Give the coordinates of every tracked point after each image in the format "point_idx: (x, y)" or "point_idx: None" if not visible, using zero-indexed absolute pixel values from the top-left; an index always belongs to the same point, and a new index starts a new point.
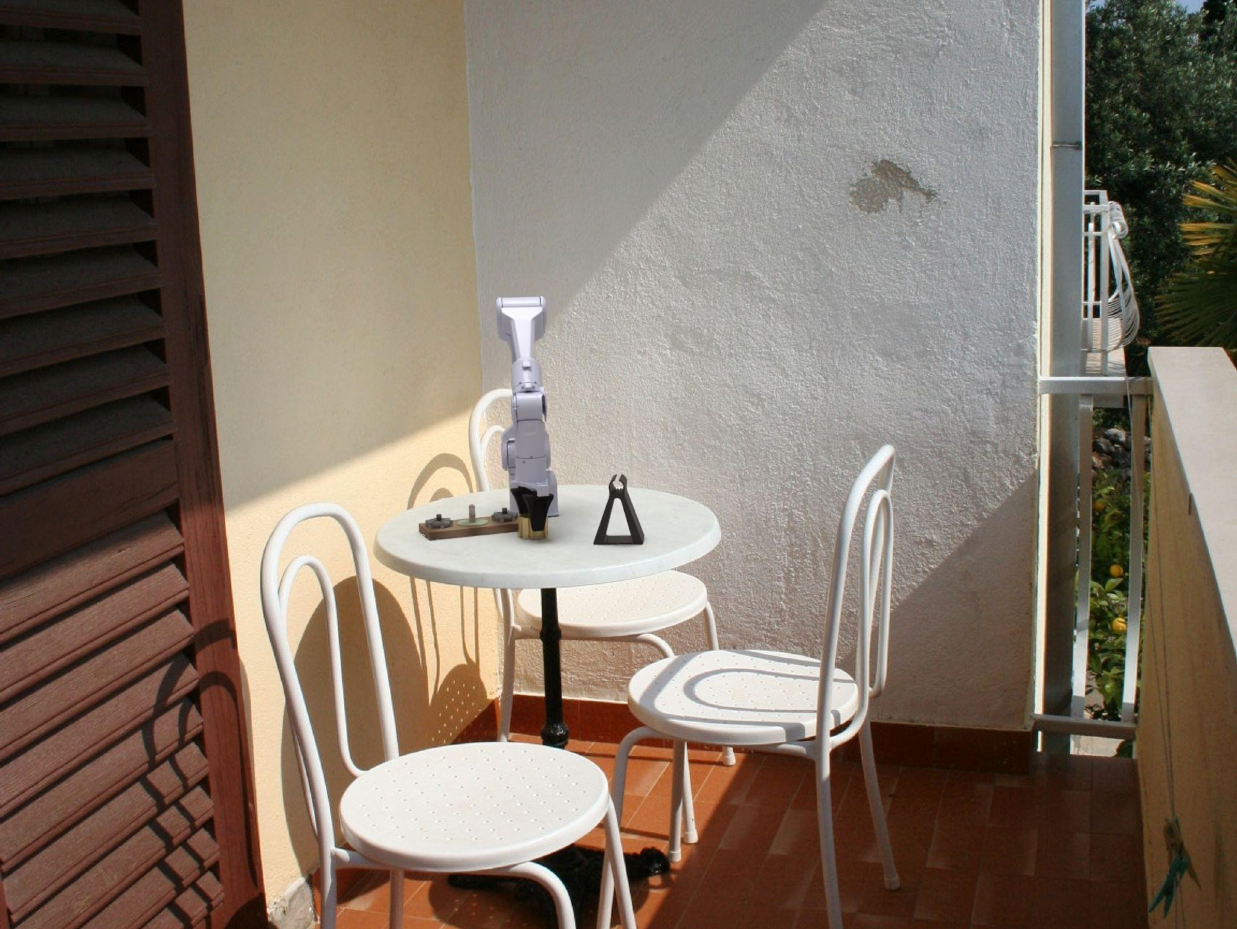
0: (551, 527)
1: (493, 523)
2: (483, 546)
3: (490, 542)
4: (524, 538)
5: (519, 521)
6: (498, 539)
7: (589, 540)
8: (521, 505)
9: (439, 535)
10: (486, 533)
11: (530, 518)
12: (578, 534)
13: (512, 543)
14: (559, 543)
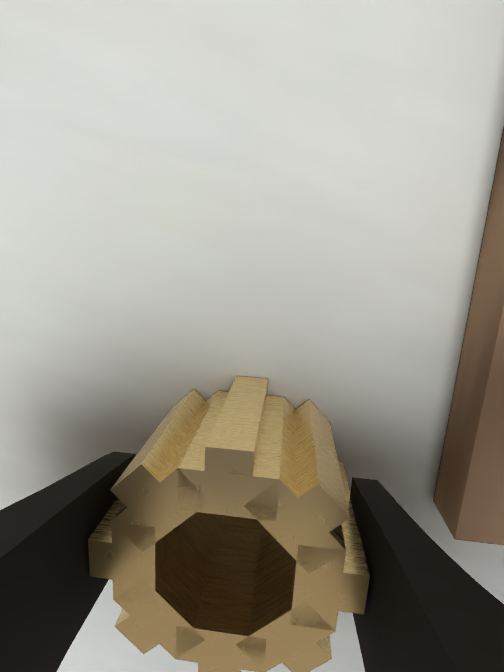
0: None
1: None
2: (118, 58)
3: (217, 151)
4: (192, 391)
5: (215, 429)
6: (279, 238)
7: None
8: (408, 617)
9: None
10: (492, 211)
11: (49, 496)
12: (166, 662)
13: (119, 281)
14: None
